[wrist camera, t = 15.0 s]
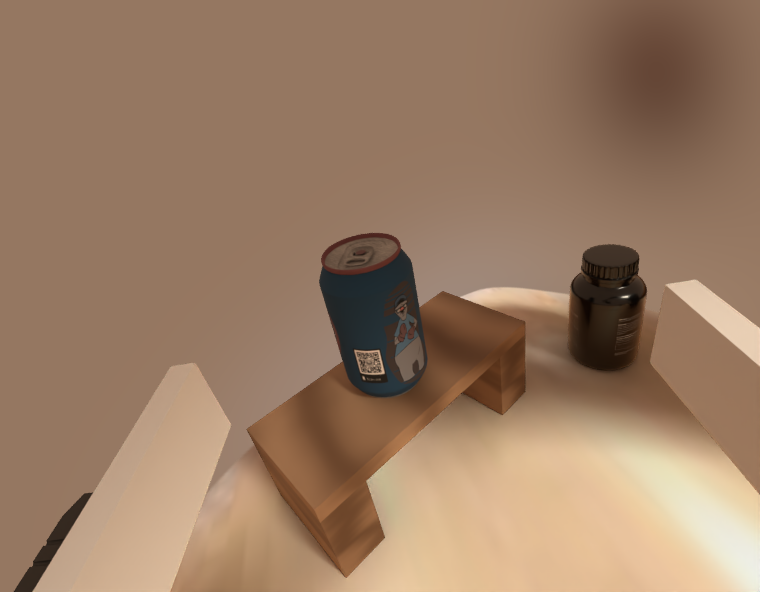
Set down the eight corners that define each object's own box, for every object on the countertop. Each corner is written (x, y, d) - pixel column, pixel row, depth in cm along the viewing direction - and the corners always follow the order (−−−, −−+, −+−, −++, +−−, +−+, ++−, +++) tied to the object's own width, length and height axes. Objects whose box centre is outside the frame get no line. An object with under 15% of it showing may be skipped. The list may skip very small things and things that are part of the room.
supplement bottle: (627, 331, 48) (642, 236, 41) (645, 373, 42) (665, 270, 36) (562, 332, 50) (567, 241, 43) (571, 372, 44) (578, 274, 38)
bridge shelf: (450, 354, 50) (442, 291, 45) (525, 391, 43) (525, 321, 38) (280, 494, 38) (246, 429, 33) (346, 577, 31) (314, 509, 26)
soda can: (362, 347, 40) (331, 232, 33) (434, 348, 37) (416, 226, 31) (339, 402, 34) (297, 276, 28) (422, 407, 32) (397, 272, 26)
